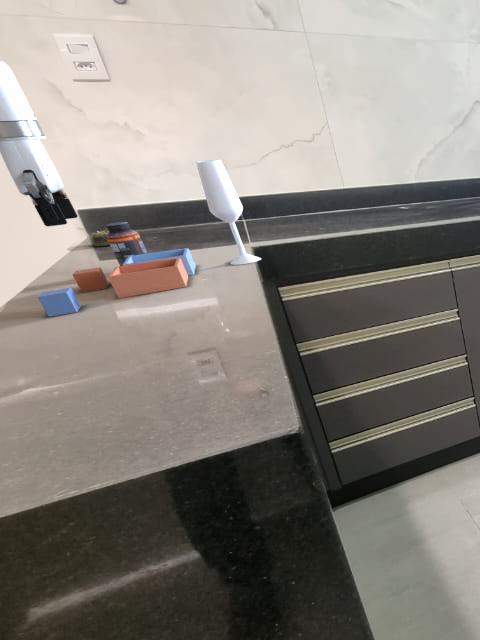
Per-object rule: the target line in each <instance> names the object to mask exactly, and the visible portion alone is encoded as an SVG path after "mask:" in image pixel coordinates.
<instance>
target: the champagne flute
mask: <svg viewBox="0 0 480 640" xmlns="http://www.w3.org/2000/svg"><path fill="white" fill-rule="evenodd" d="M195 163H196V168H197V170H198V175H199V178H200V181H201V186H202V190H203V193H204V196H205V199H206V203H207V207H208V210H209V212H210V213H211V215H213V216H214V217H215V218H217V219H219V220H221V221H222V222H224V223H228V224H229V228H230V230H231V233H232V236H233V238H234V240H235V244H236V246H237V250H238V252H239V255H237V256H236V257H235V258H234V259H233V260H232V261H231V262H230V265H233V266H234V265H235V266H237V265H238V266H239V265H247V264H251V263H256V262H258V261H261V260H262V258H261V257H259V256H256V255H252V254H250V253H246V249H245V247H244V244H243V241H242V239H241V237H240V233H239V231H238V228H237V225H236V223H235V222H236V221H238V219H239V218H240V217H241V215H242V213H243V210H244V206H243V204H242V201H241V200H240V198H239V196H238V193H237V192H236V189H235V187H234V185H233V183H232V180H231V178H230V177H229V175H228V172H227V170H226V168H225V166H224V164H223V162H222V159H208V160H207V159H206V160H198V161H195Z"/></svg>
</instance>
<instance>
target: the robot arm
mask: <svg viewBox="0 0 480 640" xmlns="http://www.w3.org/2000/svg"><path fill="white" fill-rule="evenodd" d="M45 139H47V136H46V134H45V132H44V130H43V128H42V127H41V125H40V123H39V121H38V119H37V116H36V115H35V113H34V111H33V109H32V108H31V106H30V103H29V101H28V99H27V97H26V95H25V93H24V91H23V90H22V87H21V86H20V83H19V81H18V80H17V77H16V76H15V74H14V72H13V70H12V68H11V67H10V66H9V64H8V63H6V62H5V61H2V60H0V155H1V157H2V159H3V162H4V164H5V166H6V168H7V170H8V172H9V174H10V176H11V179H12V180H13V182H14V184H15V186H16V188H17V190H18V192H19V193H20V194H21V195H23V196H29V198H30V199H31V202H32V204H33V206H34V208H35V210H36V212H37V214H38V215H39V218H40V219H41V221H42V223H43V225H44V226H45V227H54V226H62V225H63V226H64V225H67V224H68V221H67V220H70V219H77V218H78V217H79V216H78V214H77V211H76V209H75V207H74V206H73V203H72V202H71V200H70V198H69V197H68V195H67V193H66V192H65V191H64V187H65V186H64V182H63V181H62V178H61V176H60V174H59V173H58V170H57V168H56V167H55V164H54V163H53V161H52V159H51V157H50V156H49V155H50V154H49V153H48V151H47V149H46V148H45V146H44V145H43V143H42V141H41V140H45Z"/></svg>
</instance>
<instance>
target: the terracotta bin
mask: <svg viewBox="0 0 480 640" xmlns="http://www.w3.org/2000/svg"><path fill="white" fill-rule="evenodd" d="M107 278H108V280H109V282H110V284H111V286H112V289H113V290H114V292H115V294H116V296H117V298H118V299H122V298H129V297H133V296H134V297H135V296H141V295H146V294H152V293H158V292H164V291H169V290H170V291H171V290H175V289H181V288H186V287H187V285H188V281H189V276H188V275H187V272H186V270H185V268H184V265H183V263H182V261H181V258H173V259H166V260H159V261H152V262H146V263H139V264H132V265H125V266H120V265H119V266H115V267H114V268H113V269H112V271H111V272H110V273H109V275H108V276H107Z"/></svg>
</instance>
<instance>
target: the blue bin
mask: <svg viewBox="0 0 480 640" xmlns="http://www.w3.org/2000/svg"><path fill="white" fill-rule="evenodd" d="M173 258H181V261H182V263H183V265H184V268H185V270H186V272H187V275H188V277H189V276H194V275H195V272H196V263H195V261H194V259H193V257H192V254H191V252H190V249H189V247H185V248H178V249H171V250H170V249H169V250H164V251H156V252H148V254H142V255H134V256H128V258H127V259H126V261H125V262H124V263H123V266H125V265H132V264H139V263H146V262H152V261H159V260H166V259H173Z"/></svg>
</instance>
